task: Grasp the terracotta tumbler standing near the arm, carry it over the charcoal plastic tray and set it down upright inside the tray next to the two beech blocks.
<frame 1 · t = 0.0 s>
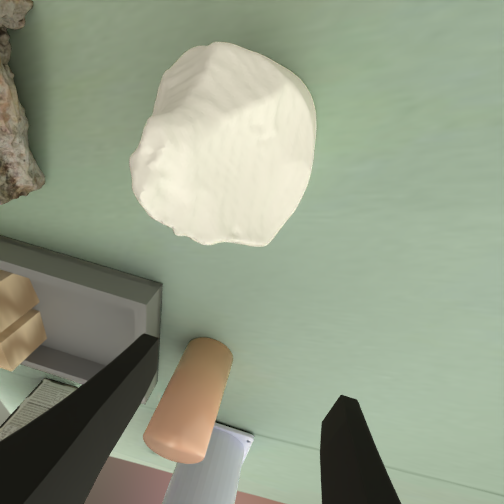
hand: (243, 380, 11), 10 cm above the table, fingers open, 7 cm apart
tray: (72, 312, 27), on the table
candy bar box: (71, 404, 38), on the table
tumbler: (209, 354, 26), on the table
beech block b: (13, 281, 26), point 1 cm above the table, touching tray
beech block a: (25, 319, 28), point 1 cm above the table, touching tray
roll: (265, 125, 16), on the table
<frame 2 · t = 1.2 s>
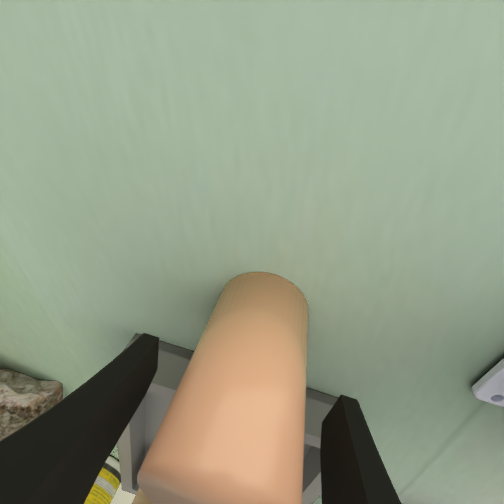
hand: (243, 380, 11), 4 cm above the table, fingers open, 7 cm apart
supplement bottle: (103, 458, 30), on the table
tray: (221, 436, 22), on the table
tumbler: (263, 309, 14), on the table
geological specimen: (16, 393, 26), on the table
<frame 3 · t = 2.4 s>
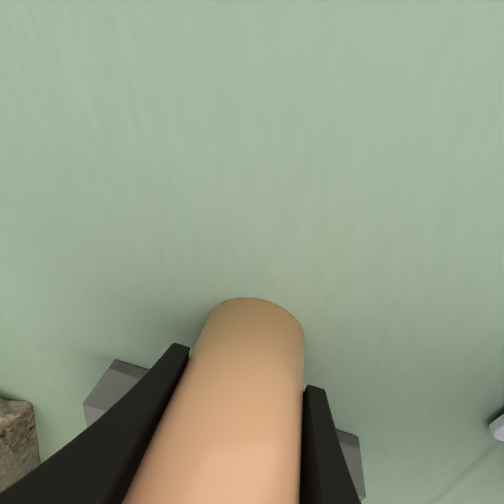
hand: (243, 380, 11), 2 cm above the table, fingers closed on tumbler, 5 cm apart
tray: (211, 465, 20), on the table
tumbler: (253, 337, 13), on the table, touching gripper
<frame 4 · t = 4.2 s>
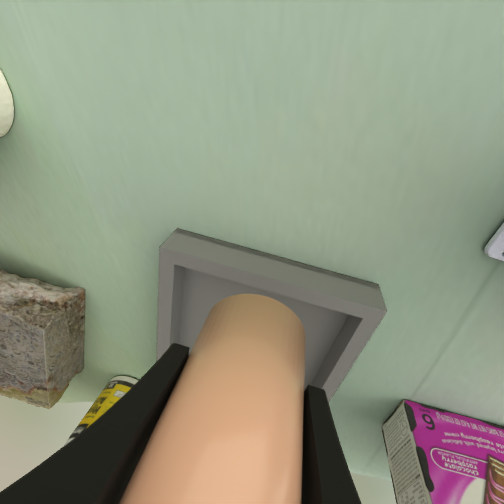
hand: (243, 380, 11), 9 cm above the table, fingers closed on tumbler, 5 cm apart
supplement bottle: (133, 387, 31), on the table
tray: (249, 342, 24), on the table
candy bar box: (453, 425, 24), on the table
tumbler: (254, 334, 13), point 7 cm above the table, touching gripper
geological specimen: (40, 313, 28), on the table
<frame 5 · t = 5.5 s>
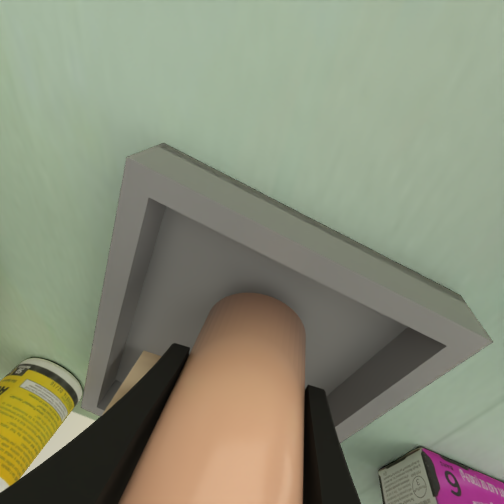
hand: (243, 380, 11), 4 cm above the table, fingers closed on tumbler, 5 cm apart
supplement bottle: (55, 375, 23), on the table
tray: (236, 344, 16), on the table
candy bar box: (466, 482, 19), on the table
tumbler: (254, 333, 13), point 2 cm above the table, touching gripper
beech block b: (171, 379, 18), point 1 cm above the table, touching tray
when the fingers open (4 cm above the table, at t = 6.4 s): tumbler drops 1 cm, resting on tray.
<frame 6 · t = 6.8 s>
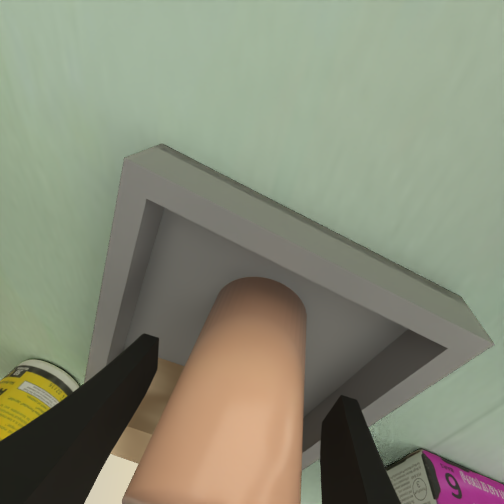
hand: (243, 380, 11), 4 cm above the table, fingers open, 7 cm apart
supplement bottle: (54, 377, 23), on the table
tray: (235, 346, 16), on the table
candy bar box: (467, 484, 19), on the table
tumbler: (259, 314, 14), point 1 cm above the table, touching tray
beech block b: (170, 380, 18), point 1 cm above the table, touching tray
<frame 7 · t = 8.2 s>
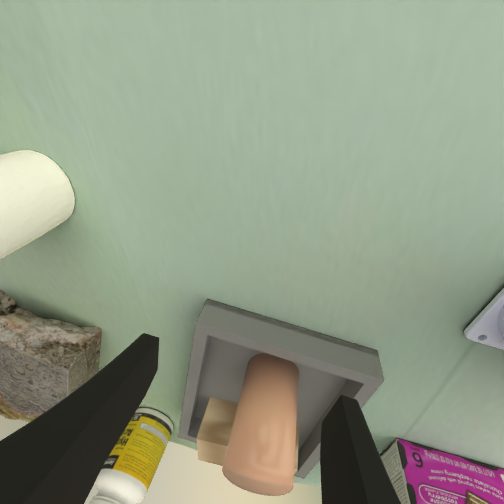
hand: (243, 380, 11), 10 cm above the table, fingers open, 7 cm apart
supplement bottle: (154, 417, 35), on the table
tray: (264, 387, 27), on the table
candy bar box: (439, 460, 28), on the table
tumbler: (272, 370, 25), point 1 cm above the table, touching tray
beech block b: (229, 412, 29), point 1 cm above the table, touching tray
geological specimen: (59, 345, 31), on the table
roll: (43, 189, 21), on the table
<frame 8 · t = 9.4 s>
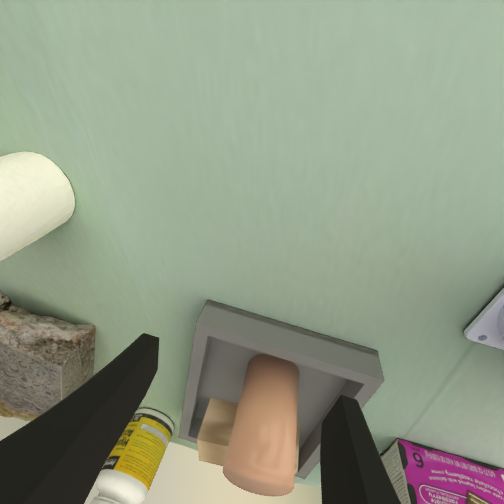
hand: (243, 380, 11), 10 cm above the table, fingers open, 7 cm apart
supplement bottle: (155, 418, 35), on the table
tray: (264, 388, 27), on the table
candy bar box: (440, 460, 28), on the table
tumbler: (273, 371, 25), point 1 cm above the table, touching tray
beech block b: (229, 412, 29), point 1 cm above the table, touching tray
geological specimen: (53, 343, 31), on the table
roll: (43, 190, 21), on the table
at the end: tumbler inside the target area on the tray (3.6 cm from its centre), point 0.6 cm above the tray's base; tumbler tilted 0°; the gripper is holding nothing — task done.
